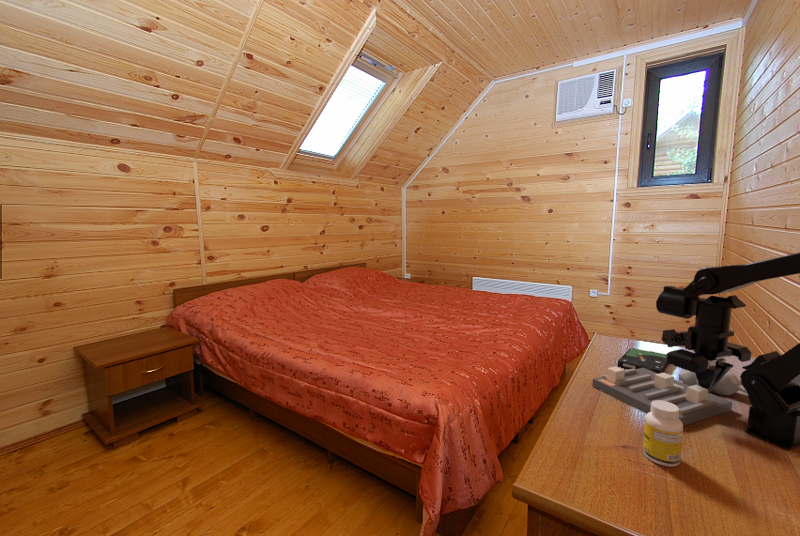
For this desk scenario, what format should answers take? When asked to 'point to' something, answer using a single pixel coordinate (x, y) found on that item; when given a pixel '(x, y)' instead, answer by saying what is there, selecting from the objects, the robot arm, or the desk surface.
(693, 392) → the tab near
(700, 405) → the switch panel
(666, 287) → the robot arm
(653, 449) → the supplement bottle
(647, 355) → the disk drive
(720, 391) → the bunny figurine
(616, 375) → the tab far
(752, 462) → the desk surface
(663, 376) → the tab middle
